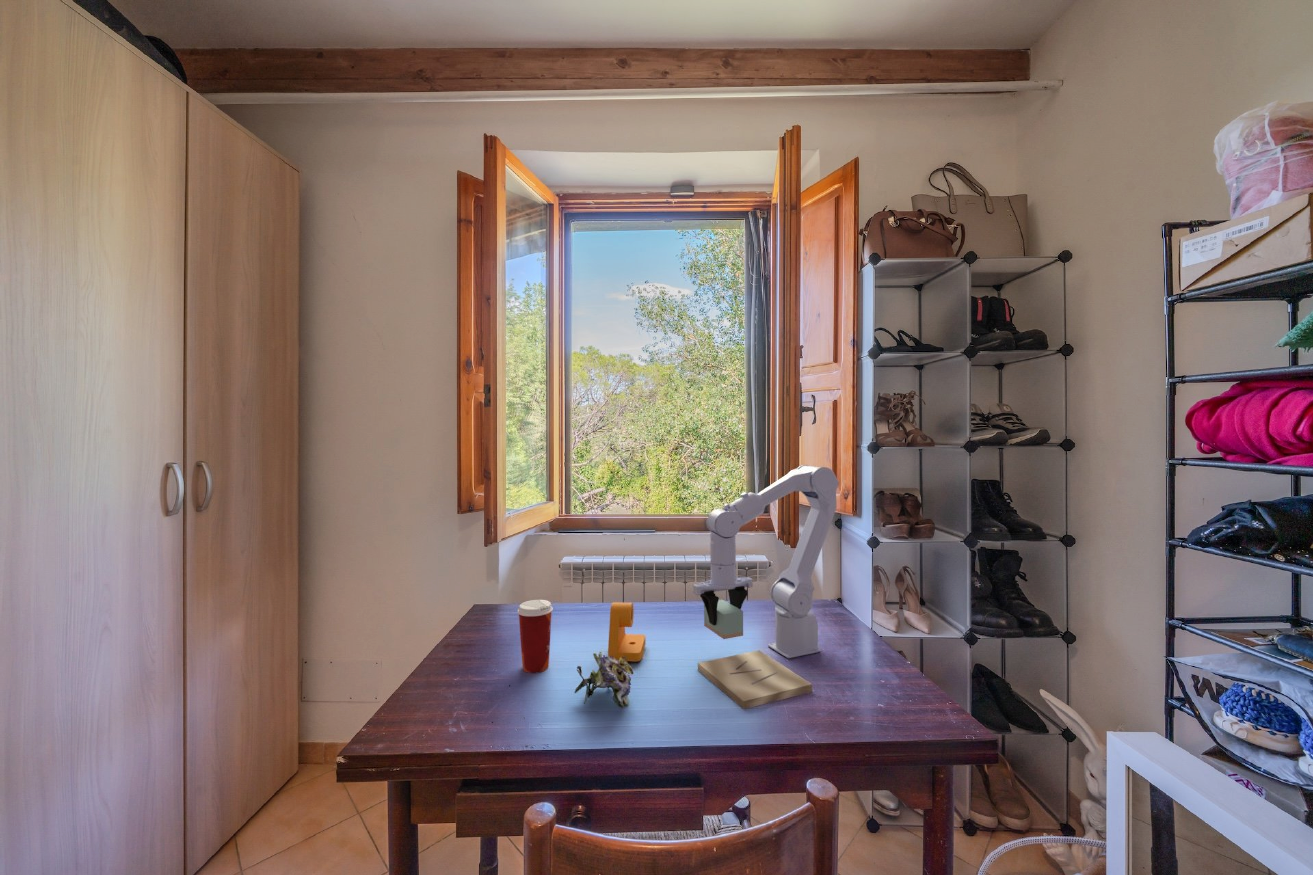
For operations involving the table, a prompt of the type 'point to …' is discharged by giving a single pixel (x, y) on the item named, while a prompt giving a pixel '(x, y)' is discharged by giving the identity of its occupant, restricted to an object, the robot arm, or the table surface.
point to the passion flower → (609, 678)
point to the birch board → (753, 679)
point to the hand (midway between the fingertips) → (723, 621)
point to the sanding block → (726, 620)
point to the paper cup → (535, 634)
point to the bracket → (618, 640)
